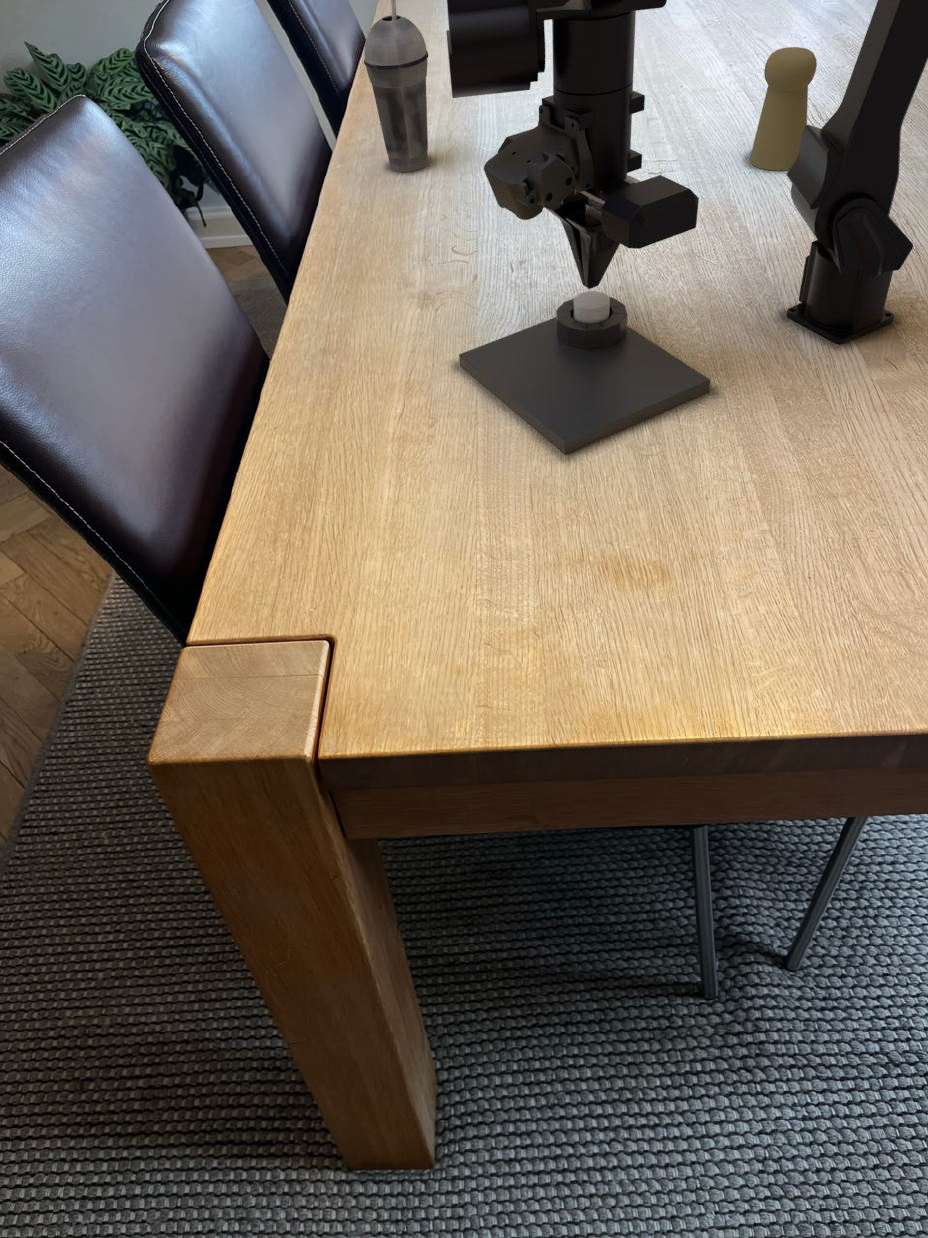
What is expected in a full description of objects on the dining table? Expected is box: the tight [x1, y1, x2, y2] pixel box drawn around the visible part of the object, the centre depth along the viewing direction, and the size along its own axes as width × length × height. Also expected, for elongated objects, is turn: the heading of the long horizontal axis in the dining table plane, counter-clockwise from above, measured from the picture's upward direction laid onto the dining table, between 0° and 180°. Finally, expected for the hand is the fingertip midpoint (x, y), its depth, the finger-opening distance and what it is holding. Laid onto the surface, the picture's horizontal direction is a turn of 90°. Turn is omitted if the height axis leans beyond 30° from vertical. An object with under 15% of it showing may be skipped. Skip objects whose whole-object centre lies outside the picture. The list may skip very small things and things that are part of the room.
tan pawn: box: [749, 46, 818, 171], centre depth 104 cm, size 6×6×11 cm
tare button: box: [573, 290, 610, 323], centre depth 82 cm, size 3×3×2 cm
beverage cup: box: [363, 0, 429, 173], centre depth 109 cm, size 7×7×20 cm
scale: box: [458, 296, 711, 456], centre depth 80 cm, size 16×14×3 cm
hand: (590, 285), depth 81 cm, fingers closed
